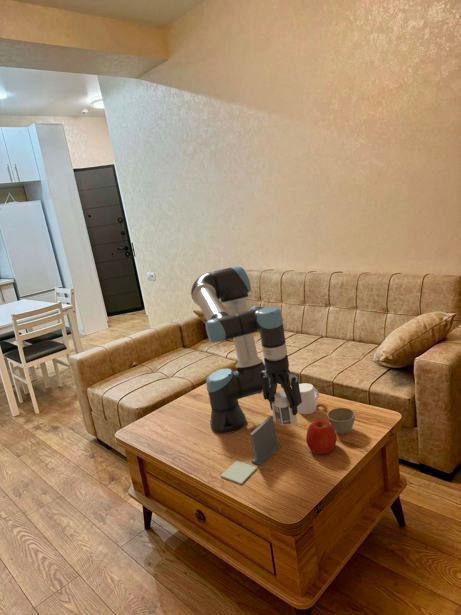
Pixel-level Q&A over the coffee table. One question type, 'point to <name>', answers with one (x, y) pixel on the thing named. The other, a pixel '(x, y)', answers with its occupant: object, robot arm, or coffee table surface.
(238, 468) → the mat
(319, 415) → the coffee table surface
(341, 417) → the flower pot
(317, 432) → the apple
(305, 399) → the mug
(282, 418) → the pill bottle
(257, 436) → the screen
